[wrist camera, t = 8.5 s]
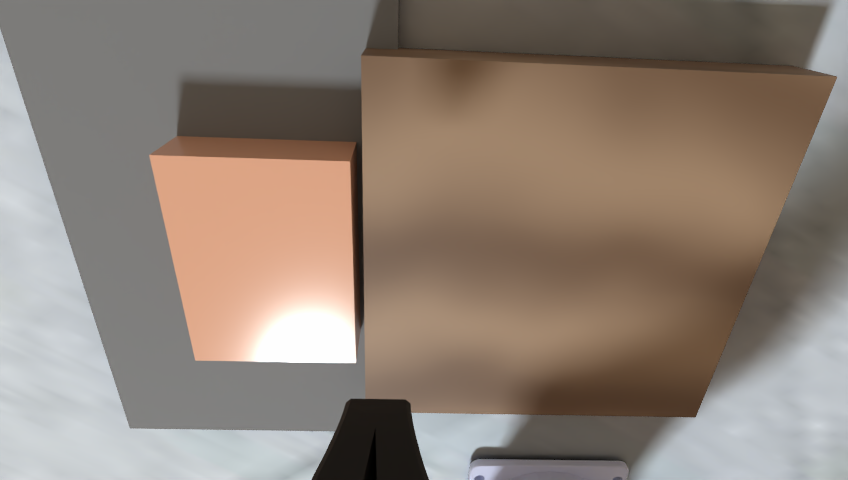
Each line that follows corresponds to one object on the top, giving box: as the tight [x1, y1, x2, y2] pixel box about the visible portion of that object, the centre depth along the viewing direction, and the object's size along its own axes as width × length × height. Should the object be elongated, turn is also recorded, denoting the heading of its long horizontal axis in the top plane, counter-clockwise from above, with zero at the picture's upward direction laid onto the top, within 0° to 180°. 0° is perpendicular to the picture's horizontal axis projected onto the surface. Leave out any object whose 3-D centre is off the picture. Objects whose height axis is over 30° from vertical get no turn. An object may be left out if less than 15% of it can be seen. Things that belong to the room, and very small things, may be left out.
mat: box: [0, 0, 399, 431], centre depth 19 cm, size 20×12×1 cm, turn 177°
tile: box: [149, 136, 361, 363], centre depth 18 cm, size 8×6×2 cm
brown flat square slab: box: [361, 48, 837, 417], centre depth 19 cm, size 14×14×2 cm
